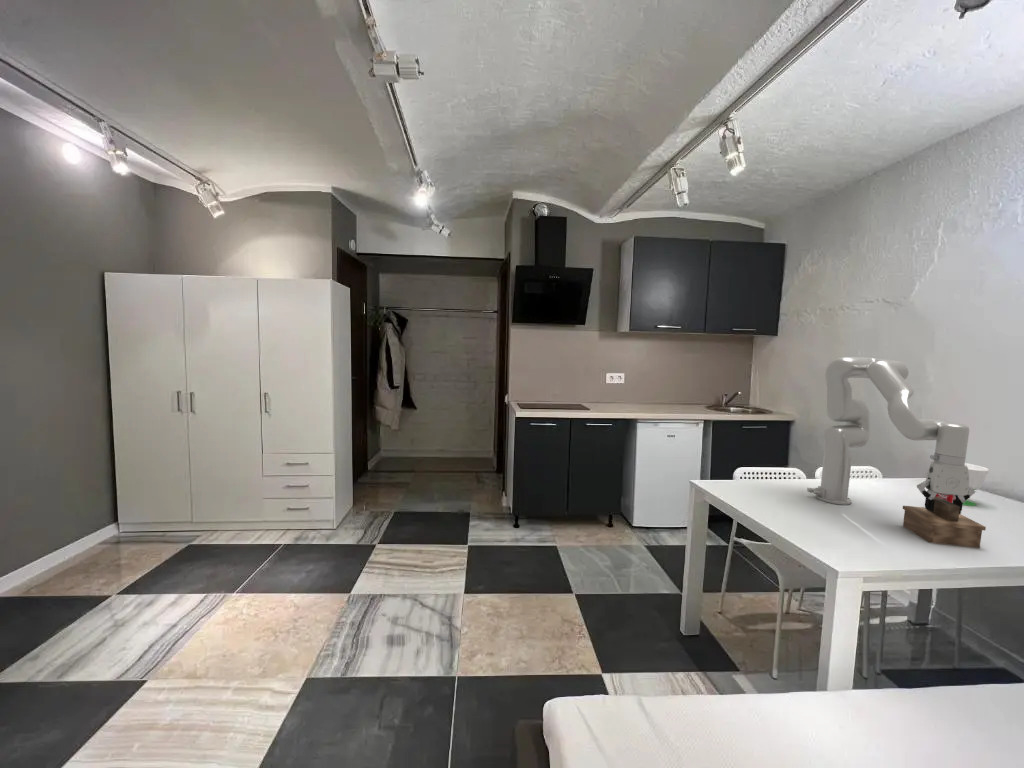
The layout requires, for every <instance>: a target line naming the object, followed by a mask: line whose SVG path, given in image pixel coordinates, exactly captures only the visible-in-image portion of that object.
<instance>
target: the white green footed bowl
mask: <svg viewBox="0 0 1024 768" xmlns="http://www.w3.org/2000/svg"><path fill="white" fill-rule="evenodd" d="M965 466H967V467H968V472H969V487H971V488H972V489H973V490H974V491H977V490H979V489H980V488H981V487H982V486H983V485H984V482H985V479H986V477H987V475H988V472H989V471H990V470H989V468H987V467H984V466H982V465H977V464H972V463H967V462H965ZM976 505H977V504H976V503H975V502H973V501H971V500H968V499H967V500H965V502H964V503H963V506H967V507H969V506H970V507H974V506H976Z"/></svg>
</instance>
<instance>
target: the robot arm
mask: <svg viewBox="0 0 1024 768" xmlns="http://www.w3.org/2000/svg"><path fill="white" fill-rule="evenodd" d="M908 376H909V368H908V367H907V365H906V364H905V363H904V362H902V361H900V360H893V359H884V358H877V357H867V356H864V357H863V356H842V357H838V358H835V359H834V360H832V361H831V362H830V363H829V364H828V366H827V367H826V369H825V381H826V382H825V383H826V414H827V418H829V419H830V420H831V421H832V422H837V423H840V422H841V423H843V422H845V424H835V425H831V426H829V427H827V428H826V429H825V430H824V431H823V435H822V441H823V460H822V471H821V480H820V485H817V487H815V488H814V487H813V488H812V487H807V489H806V491H807V493H812V494H813V495H814V496H815V497H816V499H818V500H819V501H822V502H825V503H829V504H835V505H841V506H842V505H843V506H844V505H845V506H846V505H847V506H848V505H851V504H852V503H853V501H852V499H851V498H850V497H849V490H850V489H849V487H850V481H851V480H850V476H851V472H852V471H851V469H852V456H851V453H850V449H858V448H863V447H864V446H867V444H868V442H869V441H870V433H871V431H870V410H869V407H868V405H867V403H865V402H863V400H860V399H857V398H853V389H852V385H851V383H850V381H849V380H848V379H852V378H853V379H869V380H870V381H871V382H872V384H873V385H874V386H875V388H876V389H877V390H878V391H879V393H880V394H881V396H883V398H884V399H885V401H886V402H887V411H888V418H889V420H890V422H891V423H892V424H893V425H894V427H895V428H896V429H897V431H898V432H899V433H900V434H901V435H902V436H903V437H905V438H906V439H908V440H911V441H935V442H936V443H935V449H934V454H931V455H930V456H929V457H930V459H931V460H933V461H931V463H930V465H929V468H928V470H927V472H926V473H927V474H926V478H925V480H924V481H922V482H920V483H919V484H916V488H917V490H918V491H919V492H920V493H921V494H922V495H923V497H924V498H925V501H924V508H926V509H927V510H929V511H934V504H935V500H933V498H934V497H935V496H936V495H937V493H938V494H946V495H954V497H955V500H953V504H955V505H957V506H959V507H960V511H959V514H961V515H962V511H963V506H964V505H963V503H964V502H965V500H967V501H968V500H969V499H970V498H971V497H972V496H973V495H974V494H975V493H976V490H973V489H972V488H971V487H969V472H968V467H967V466H965V463H966V460H967V459H966V457H967V450H968V443H969V435H970V428H969V426H968V425H966V424H963V423H959V422H948V421H945V420H942V419H938V418H918V417H917V416H916V415H915V413H914V412H913V411H912V409H911V408H910V406H909V403H908V402H909V401H908V400H909V399H910V398H912V396H914V392H915V391H914V389H913V388H912V387H911V386H910V385H909V383H908V382H907V381H906V379H907V378H908Z"/></svg>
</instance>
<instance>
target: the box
mask: <svg viewBox="0 0 1024 768" xmlns="http://www.w3.org/2000/svg"><path fill="white" fill-rule="evenodd" d="M902 522H903V523H902V526H903V527H904V528H906V529H908V531H910V532H912V533H913V534H915V535H917V536H918V537H920V538H922V539H923V540H925V541H926V542H928V543H933V544H940V545H951V546H959V547H960V546H961V547H969V548H978V549H979V548H981V542H982V541H981V540H982V534H983V530H975V529H966V528H956V527H946V526H936V525H930V524H928V523H926V522H925V521H923V520H921V519H919V518H918V517H916V516H914V515H913V514H911V513H909V512H907V511H906V510H904V514H903V521H902Z"/></svg>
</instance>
